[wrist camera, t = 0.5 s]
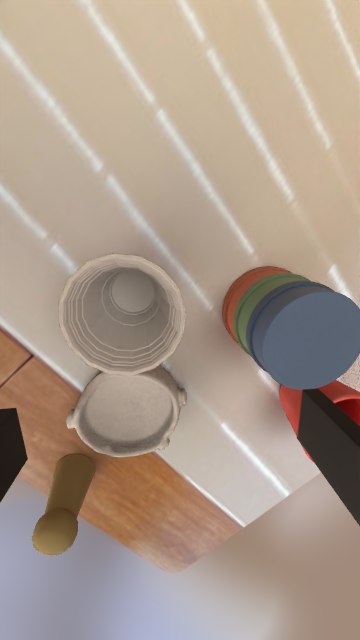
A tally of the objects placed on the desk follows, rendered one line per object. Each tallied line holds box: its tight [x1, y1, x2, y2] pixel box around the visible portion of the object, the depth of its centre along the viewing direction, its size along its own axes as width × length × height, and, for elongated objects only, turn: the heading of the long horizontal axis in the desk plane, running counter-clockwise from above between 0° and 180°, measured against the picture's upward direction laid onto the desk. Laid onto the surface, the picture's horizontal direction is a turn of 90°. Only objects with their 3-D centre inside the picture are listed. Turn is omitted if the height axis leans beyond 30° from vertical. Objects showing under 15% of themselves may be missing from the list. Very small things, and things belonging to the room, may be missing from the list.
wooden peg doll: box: [32, 454, 95, 556], centre depth 36 cm, size 6×6×11 cm
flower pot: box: [279, 380, 360, 462], centre depth 37 cm, size 11×11×10 cm
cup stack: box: [223, 266, 360, 390], centre depth 30 cm, size 12×12×12 cm
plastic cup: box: [59, 253, 186, 375], centre depth 28 cm, size 11×11×12 cm
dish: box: [66, 366, 187, 457], centre depth 36 cm, size 14×14×5 cm
